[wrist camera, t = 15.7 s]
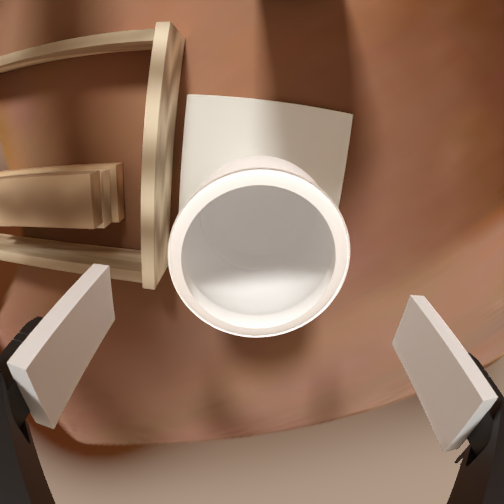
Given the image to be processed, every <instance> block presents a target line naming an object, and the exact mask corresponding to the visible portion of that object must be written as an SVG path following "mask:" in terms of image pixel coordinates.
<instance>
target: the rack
mask: <svg viewBox="0 0 504 504" xmlns="http://www.w3.org/2000/svg"><path fill="white" fill-rule="evenodd" d="M184 45H185V37H184V36H183V35H182V34H181V33H180V32H179V31H178V30H177V28H176V27H175V26H174V25H173V24H172V23H171V22H156V28H155V29H142V30H130V31H120V32H111V33H103V34H96V35H89V36H83V37H77V38H72V39H67V40H62V41H57V42H52V43H48V44H43V45H39V46H35V47H31V48H28V49H24V50H20V51H17V52H13V53H10V54H7V55H4V56H0V73H3V72H7V71H11V70H15V69H18V68H23V67H27V66H31V65H36V64H40V63H45V62H50V61H56V60H61V59H67V58H73V57H80V56H87V55H95V54H103V53H113V52H124V51H139V50H152V54H151V62H150V70H149V78H148V87H147V97H146V108H145V120H144V134H143V151H142V174H141V250H133V249H125V248H116V247H107V246H99V245H90V244H81V243H73V242H65V241H56V240H48V239H40V238H31V237H23V236H15V235H7V234H0V260H3V261H9V262H13V263H19V264H24V265H30V266H36V267H42V268H47V269H53V270H59V271H66V272H72V273H78V274H84V273H85V272H86V271H87V270H88V269H89V268H90V267H91V266H92V265H93V264H102V265H109V268H110V278H111V279H118V280H125V281H132V282H139V283H142V285H143V288H145V289H152V290H155V288H156V286H157V285H158V283H159V281H160V279H161V277H162V276H163V274H164V272H165V270H166V269H167V267H168V242H169V237H170V209H171V185H172V167H173V151H174V138H175V126H176V114H177V104H178V94H179V85H180V76H181V68H182V60H183V52H184Z"/></svg>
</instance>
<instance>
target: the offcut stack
mask: <svg viewBox="0 0 504 504" xmlns="http://www.w3.org/2000/svg"><path fill="white" fill-rule="evenodd" d="M124 218H125V212H124V192H123V163H98V164H77V165H61V166H48V167H35V168H25V169H15V170H4V171H1V172H0V226H20V227H51V228H79V229H95V228H105V227H107V226H108V225H109V224H111V223H112V222H120V221H121V220H123V219H124Z"/></svg>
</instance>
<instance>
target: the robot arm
mask: <svg viewBox="0 0 504 504" xmlns="http://www.w3.org/2000/svg"><path fill="white" fill-rule="evenodd" d="M114 320H115V314H114V306H113V298H112V289H111V279H110V268H109V265H102V264H93V265H92V266H91V267H90V268H89V269H88V270H87V271H86V272H85V273H84V274H83V275H82V276H81V277H80V278H79V279H78V280H77V281H76V282H75V284H74V285H73V286H72V287H71V288H70V289H69V290H68V291H67V292H66V293H65V294H64V295H63V297H62V298H61V299H60V300H59V301H58V302H57V303H56V304H55V305H54V307H53V308H52V309H51V310H50V311H49V312H48V313H47V314H46V316H45V317H44V318H42V317H36V318H34V319H33V320H31V321H29V322H28V323H27V324H26V325H25V326H24V327H23V328H22V329H21V330H20V333H18V334H17V335H16V336H15V337H14V340H12V341H11V342H10V343H9V344H8V346H7V347H6V348H5V349H4V350H3V352H2V353H1V354H0V504H55V502H54V499H53V497H52V494H51V492H50V489H49V487H48V484H47V481H46V479H45V476H44V473H43V470H42V468H41V465H40V462H39V459H38V456H37V452H36V449H35V446H34V443H33V439H32V436H31V432H30V428H29V425H28V423H27V421H26V417H27V416H28V414H29V412H30V413H31V415H32V416H33V418H34V420H35V422H37V423H39V424H42V425H44V426H47V427H50V428H52V429H54V428H55V426H56V424H57V422H58V420H59V418H60V416H61V414H62V412H63V410H64V408H65V406H66V404H67V403H68V401H69V399H70V397H71V395H72V393H73V391H74V390H75V388H76V386H77V384H78V382H79V380H80V379H81V377H82V375H83V373H84V371H85V370H86V368H87V366H88V364H89V363H90V361H91V359H92V357H93V356H94V354H95V352H96V351H97V349H98V347H99V345H100V344H101V342H102V340H103V339H104V337H105V335H106V334H107V332H108V330H109V329H110V327H111V325H112V324H113V322H114ZM392 346H393V347H394V349H395V351H396V353H397V355H398V357H399V359H400V361H401V363H402V365H403V367H404V369H405V371H406V373H407V375H408V377H409V379H410V381H411V383H412V385H413V387H414V389H415V391H416V394H417V396H418V398H419V400H420V402H421V404H422V406H423V408H424V411H425V413H426V415H427V417H428V419H429V421H430V424H431V426H432V428H433V430H434V433H435V435H436V437H437V439H438V442H439V444H440V446H441V449H442V451H443V452H446V451H450V450H454V449H458V448H459V447H460V446H461V445H462V444H463V442H464V441H465V440H466V439H468V441H469V443H470V445H469V446H468V447H467V448H466V449H465V450H464V452H463V453H462V454H461V455H460V456H459V457H458V458H457V460H456V461H455V463H458V462H459V461H460V460H461V459H462V458H463V460H462V463H461V464H460V465H461V466H460V469H459V472H458V475H457V478H456V481H455V484H454V487H453V489H452V492H451V495H450V498H449V500H448V502H447V504H504V397H503V395H502V394H501V392H500V391H499V390H498V388H497V386H496V385H495V384H494V382H493V381H492V379H491V378H490V377H489V375H488V373H487V372H486V371H485V370H484V368H483V366H482V365H481V364H480V362H479V361H478V360H477V359H476V358H475V357H474V356H473V355H471V354H470V353H467V351H466V350H465V349H464V347H463V346H462V344H461V343H460V342H459V340H458V339H457V338H456V336H455V335H454V334H453V332H452V331H451V330H450V328H449V327H448V326H447V325H446V323H445V322H444V321H443V319H442V318H441V317H440V316H439V314H438V313H437V312H436V311H435V309H434V308H433V307H432V305H431V304H430V303H429V302H428V301H427V299H426V298H425V297H424V296H418V295H410V297H409V300H408V303H407V305H406V308H405V311H404V314H403V316H402V319H401V321H400V324H399V327H398V329H397V332H396V334H395V337H394V339H393V341H392Z"/></svg>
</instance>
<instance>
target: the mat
mask: <svg viewBox="0 0 504 504" xmlns="http://www.w3.org/2000/svg"><path fill="white" fill-rule="evenodd" d="M352 119H353V114H349V113H344V112H339V111H334V110H329V109H323V108H317V107H311V106H305V105H299V104H292V103H285V102H277V101H269V100H260V99H251V98H240V97H228V96H213V95H193V94H187V102H186V112H185V123H184V135H183V147H182V161H181V177H180V195H179V212H180V210H181V209H182V207H183V206H184V205H185V203H186V202H187V201H188V200H189V198H190V197H191V196H192V195H193V194H194V193H195V192H196V191H197V190H198V188H199V187H200V185H201V184H202V183H203V182H204V181H205V180H206V179H207V178H208V177H209V176H210V175H211V174H212V173H213V172H214V171H216V170H217V169H218V168H220V167H221V166H223V165H225V164H227V163H229V162H231V161H233V160H236V159H239V158H243V157H247V156H256V155H263V156H272V157H277V158H280V159H283V160H286V161H288V162H290V163H292V164H294V165H296V166H298V167H299V168H301V169H302V170H303V171H305V172H306V173H307V174H308V175H309V176H310V177H311V178H312V179H313V180H314V181H315V182H316V184H317V185H318V186H319V187H320V188H321V189H322V190H323V191H324V192H325V193H326V194H327V195H328V196H329V197H330V198H331V199H332V200H333V202H334V203H335V204H336V206H337V207H338V208H339V202H340V197H341V191H342V185H343V179H344V173H345V167H346V161H347V154H348V147H349V141H350V134H351V126H352Z"/></svg>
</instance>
